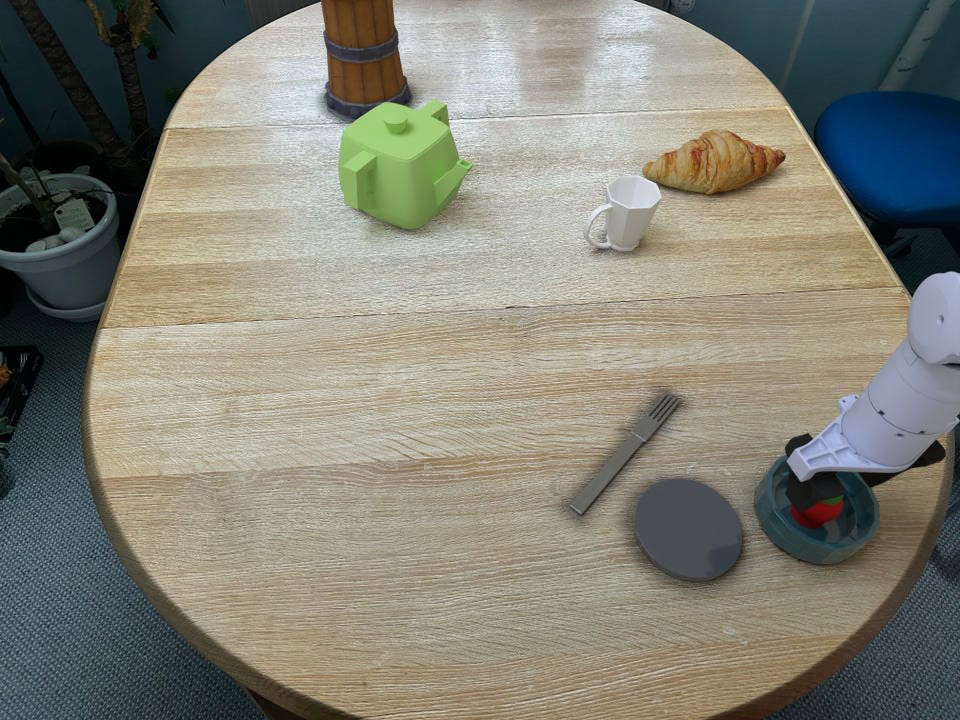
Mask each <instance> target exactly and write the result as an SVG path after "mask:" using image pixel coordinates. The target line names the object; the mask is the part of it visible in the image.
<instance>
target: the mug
mask: <svg viewBox="0 0 960 720" xmlns="http://www.w3.org/2000/svg"><path fill="white" fill-rule="evenodd" d="M320 5H321V11H322V18H323V23H324V24H323V25H324V31H323V32H322V35H323V41H324V45H325V48H326V62H327V63H326V65H327V78H328V80H327V81H326V82H325V85H324V88H325V90H326V92H325V94H323V101H324V104H325V107H326V109H327V112H328V113H330V114H331V115H333V116H335V117H337V118H338V119H340V120H342V121H343V122H349V123H353V122H354V121H356V120H357V119H359V118H360V117H361V116H363V115H364V114H366V113H367V112H369V111H370V110H372V109H373V108H375V107H377V106H379V105H380V104H382V103H385V102H390V103H395V104H399V105H403V106H406V107H409V108H410V105H411V103H412V101H413V99H414V95H413V93H412V91H411V89H410V87H409V82H408V78H407V76H406V75H404V71H403V65H402V60H401V54H400V49H399V45H400V39H399V30H398V29H397V26H396V25H395V24H396V23H395V14H394V13H395V11H394V0H320Z"/></svg>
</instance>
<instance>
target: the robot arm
mask: <svg viewBox="0 0 960 720" xmlns="http://www.w3.org/2000/svg"><path fill="white" fill-rule="evenodd" d="M911 298H912V299H911V301H910V303H909V307H908V311H907V316H906V317H907V318H906V331H907V334H906V335H905V337H904V338H903V339H902V341H901V342H900V343H899V344H898V346H897V347H896V348H895V350H894V351H893V353H892V354H891V355H890V356H889V357H888V359H887V360H886V361H885V363H884V364H883V365H882V367H880V369H879V370H878V371H877V373H876V374H875V375H874V376H873V378H872V379H871V380H870V382H869V383H868V384H867V386H866V387H865V388H864V389H863V391H862V392H861V393H860V394H849V395H846V396H843V397H840V398H839V399H838V400H837V401H836V404H835V406H836V408H837V410H839V412H840V414H839V415H837V417H836V418H834V419H833V421H832V422H830V423H829V424H828V425H827V426H826V427H825V428H823V430H822V431H820V433H818V434H817V435H816V436H815V437H814V438H813V436H812V435H811V434H810V433H809V432H806V433H804V434H801V435H797V436H794V437H791V438H790V439H789V440H788V442H787V443H786V445H785V446H784V451H785V455H787V459H788V460H787V463H788V464H789V478H788V483H787V488H786V493H785V495H786V496H787V498H788V499H789V501H790V502H791V504H792V505H793V506H794V508H795V509H796V511H797V512H802V511H805V510H807V509H810V508H812V507H813V506H815V505H816V504H817V503H819V502H820V501H822V500H828V499H832V498H836V497H839V496H841V495H844V494H847V493H849V492H848V491H847V490H846V488H845V487H844V486H843V484H842V483H841V482H840V480H839V479H838V478H837V476H836V473H837V472H838V471H844V472H858V474H859V475H860V476H861V478H862V479H863V480H864V481H865V483H866V484H867V485H868V487H869V488H874V487H877V486H881V485H883V484H885V483H887V482H888V481H890V480H892V479H894V478H896V477H898V476H899V475H902V474H903V473H905V472H907V471H910V470H912V469H916V468H925V467H926V468H927V467H930V466H932V465H936V464H938V463H941V462H942V461H944V459H945V458H946V456H947V450H946V449H945V447H944V446H943V444H941V442H940V441H939V440H938V438H939V437H941V436H944V435H948V434H949V433H950V432H951V431H952V430H953V429H954V428H955V427H956V426H957V425H958V424H959V423H960V419H959V417H958V415H960V273H959V272H957V271H947V272H944V273H943V272H940V273H939V272H937V273H934V274H931V275H929V276H928V277H927V278H924V280H923V281H922V282H921V283H920V284H919V286H918V287H917V288H916V290H915V291H914V293H913V296H912V297H911Z"/></svg>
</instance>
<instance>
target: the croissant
mask: <svg viewBox="0 0 960 720" xmlns="http://www.w3.org/2000/svg"><path fill="white" fill-rule="evenodd" d="M786 158H787V156H786V154H785V152H784V151H783V150H781V149H775V150H773V149H772V148H771V147H768V146H767V145H762V144H757V145H756V144H755V143H754V142H753V141H751V140H749V139H743V138H741V136H739V135H738V134H736V133H734V132H732V131H731V130H724V129H723V130H722V129H717V128H716V129H711V130H707V131H705V132H703V133H702V134H701V135H700V136H699V137H698V138H695V139H690V140H687V141H685V143H683V144H682V146H680V148H678V149H675V150H674V151H673V150H672V151H669V152H664V153H662V154H661V155H660V156H659V157H657V159H656V161H648V162H647V163H645V164H644V165H643V166H642V168H641V170H642V171H641V172H642V176H643V177H644V178H645V179H647V180H650V181H652V182H654V183H657V184H662V185H663V186H666V187H670V188H676V189H679V190H683V191H687V192H688V191H690V192H695V193H701V194H706V195H712V194H714V193H717V192H729V191H731V190H732V191H733V190H735V189H739V188H741V187H744V186H745V185H747V184H749V183H752V182H754V181H755V180H757V179H760V178H762V177H765V176H768V175H769V174H772V173H773V171H775V170H776V169H777V168H778V167H779V166H780V165H781V164H783V162H785V161H786Z"/></svg>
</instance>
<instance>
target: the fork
mask: <svg viewBox="0 0 960 720" xmlns="http://www.w3.org/2000/svg"><path fill="white" fill-rule="evenodd" d="M680 402H681V400H680V399H679V398H677V397H676V396H673V395H672V394H671V393H669V392H668V391H665V392H664V393H663V394H662V395H661V396H660V398H659V399H658V400H657V401H656V402H655V404H654V405H653V406H652V407H651V408H650V409H649V410H648V411H647V413H646V414H645V415H644V416H643V417H642V418H641V419H640V421H639V422H638V423H637V424H636V426H634V428H633V429H632V430H631V431H630V433H629V434H630V435H629V436H628V438H627V439H625V441H624V442H623V444H622V445H620V447H619V448H618V449H617V450H616V451H615V453H614V454H613V455H612V456H611V457H610V459H608V460H607V462H606V463H605V464H604V465H603V466H602V467H601V469H600V470H599V471H598V472H597V473H596V474H595V475H594V477H593V478H592V479H591V480H590V481H589V483H588V484H587V485H586V486H585V487H584V488H583V489H582V491H581V492H580V493H579V494H578V495H577V496H576V498H575V499H574V500H572V502H571V503H570V504H569V509H570V510H572V511H573V512H574V513H576V514H578V515H579V516H581V517H582V515H583V514H584V513H585V512H586V511H587V510H588V509H589V507H590V506H591V505H592V504H593V503H594V502H595V500H596V499H597V498H598V496H599V495H600V494H601V493H602V492H603V491H604V490H605V488H606V487H607V486H608V485H609V484H610V482H611V481H612V480H613V479H614V478H615V477H616V475H617V474H618V473H619V472H620V471H621V469H622V468H623V467H624V466H625V465H626V464H627V462H628V461H629V460H630V459H631V458H632V457H633V455H634V454H636V452H637V450H639V449H640V447H641V446H642V445H643V444H646V443H647V442H648V441H649V439H651V437H652V436H653V435H654V433H655V432H656V431H657V430H658V429H659V428H660V427H661V425H662V424H663V423H664V422H665V421H666V420H667V418H668V417H669V416H670V414H672V412H673V411H674V410H675V409H676V408H677V406H678V405H679V404H680Z"/></svg>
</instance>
